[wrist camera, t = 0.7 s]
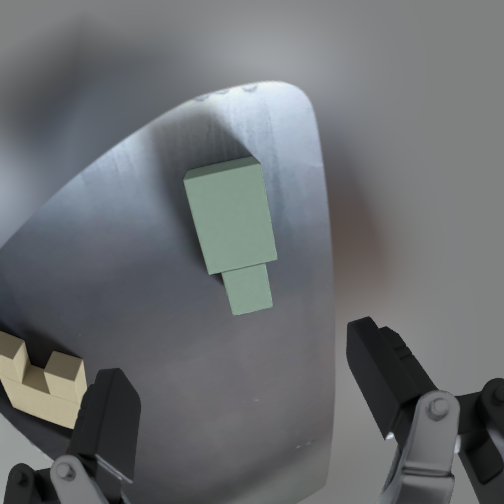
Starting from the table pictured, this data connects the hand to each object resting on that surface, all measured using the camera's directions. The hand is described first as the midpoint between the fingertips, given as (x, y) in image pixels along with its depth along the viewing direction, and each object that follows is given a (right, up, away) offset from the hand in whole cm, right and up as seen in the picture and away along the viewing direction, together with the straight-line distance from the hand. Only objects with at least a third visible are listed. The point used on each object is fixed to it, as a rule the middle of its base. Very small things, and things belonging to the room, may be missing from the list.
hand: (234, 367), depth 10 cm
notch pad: (-26, -12, +19) cm, 34 cm away
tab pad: (-1, +6, +14) cm, 15 cm away
